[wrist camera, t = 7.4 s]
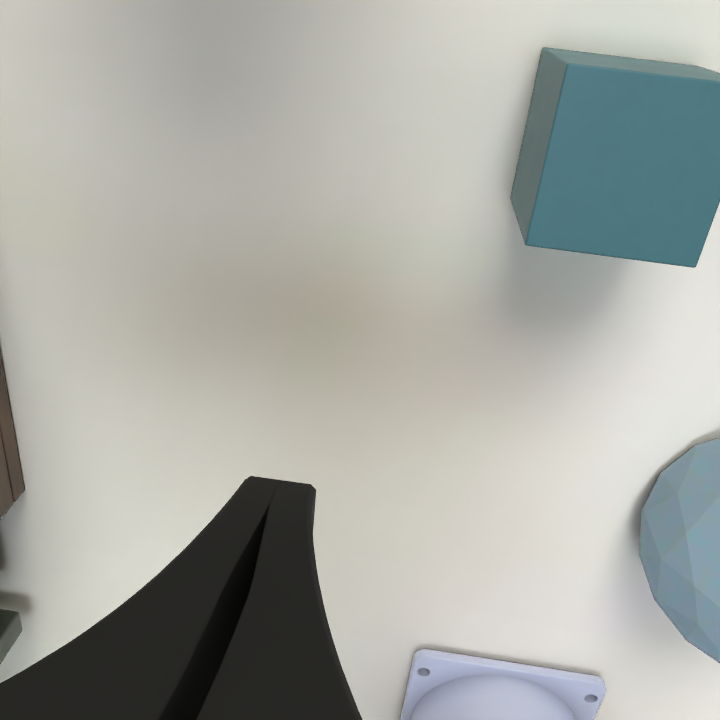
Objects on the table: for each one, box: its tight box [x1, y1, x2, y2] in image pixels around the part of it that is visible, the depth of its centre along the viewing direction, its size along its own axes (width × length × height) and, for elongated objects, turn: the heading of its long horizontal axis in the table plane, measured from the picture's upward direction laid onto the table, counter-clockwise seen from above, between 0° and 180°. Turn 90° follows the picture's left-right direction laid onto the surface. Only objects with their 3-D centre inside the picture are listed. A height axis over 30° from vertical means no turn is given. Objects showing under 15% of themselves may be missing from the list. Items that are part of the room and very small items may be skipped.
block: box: [511, 48, 720, 267], centre depth 17 cm, size 4×4×4 cm
